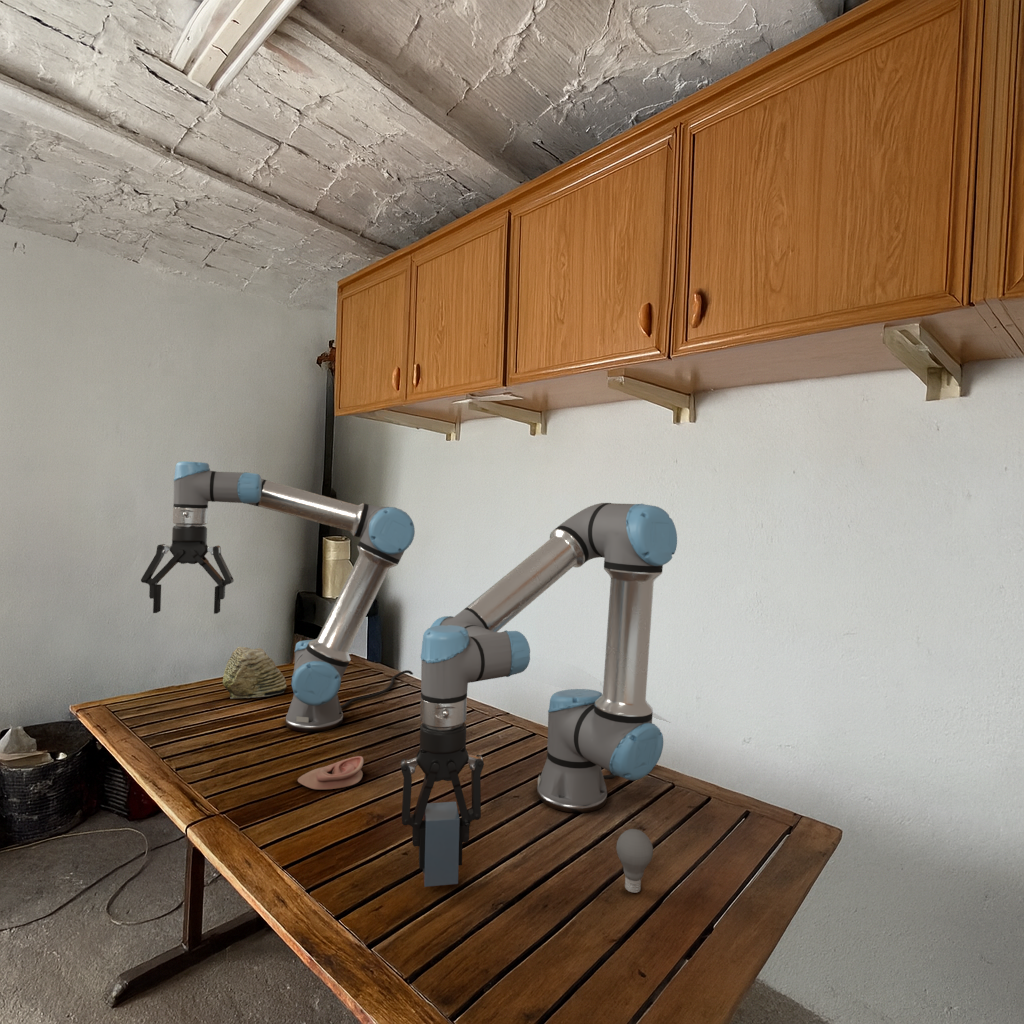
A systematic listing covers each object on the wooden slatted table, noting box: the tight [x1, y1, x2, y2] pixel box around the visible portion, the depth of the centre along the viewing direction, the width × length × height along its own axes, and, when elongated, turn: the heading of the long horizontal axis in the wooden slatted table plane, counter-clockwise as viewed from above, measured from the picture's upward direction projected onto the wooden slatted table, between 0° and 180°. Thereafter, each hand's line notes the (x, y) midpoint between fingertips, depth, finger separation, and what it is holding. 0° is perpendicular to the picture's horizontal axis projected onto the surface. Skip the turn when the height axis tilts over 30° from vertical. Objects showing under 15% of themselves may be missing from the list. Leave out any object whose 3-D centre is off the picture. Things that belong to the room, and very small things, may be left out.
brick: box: [422, 801, 461, 888], centre depth 104 cm, size 6×5×11 cm
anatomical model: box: [297, 755, 364, 791], centre depth 142 cm, size 13×4×12 cm
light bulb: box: [615, 828, 654, 894], centre depth 106 cm, size 6×6×10 cm
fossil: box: [222, 646, 288, 699], centre depth 198 cm, size 9×18×15 cm, turn 132°
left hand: (187, 612), depth 154 cm, fingers open, 13 cm apart
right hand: (440, 861), depth 104 cm, fingers closed on brick, 5 cm apart
